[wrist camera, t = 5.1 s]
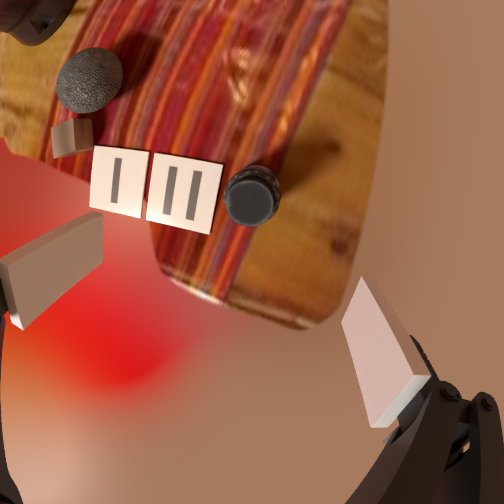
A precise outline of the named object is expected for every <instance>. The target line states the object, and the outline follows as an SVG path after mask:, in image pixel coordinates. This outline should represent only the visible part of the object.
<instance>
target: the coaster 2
mask: <svg viewBox="0 0 504 504" xmlns="http://www.w3.org/2000/svg"><path fill="white" fill-rule="evenodd" d="M222 169H223V165H221V164H216V163H211V162H206V161H201V160H195V159H190V158H184V157H178V156H172V155H166V154H159V153H155V155H154V162H153V168H152V175H151V182H150V189H149V197H148V206H147V215H146V220H150V221H154V222H158V223H163V224H167V225H171V226H175V227H180V228H184V229H188V230H192V231H197V232H201V233H205V234H210V231H211V225H212V220H213V214H214V209H215V204H216V199H217V194H218V189H219V184H220V179H221V174H222Z"/></svg>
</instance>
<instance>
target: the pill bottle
mask: <svg viewBox="0 0 504 504" xmlns="http://www.w3.org/2000/svg"><path fill="white" fill-rule="evenodd" d="M224 202H225V206H226V209H227V212H228V214H229V216H230V217H231V218H232V219H233V220H234V221H235V222H236V223H238V224H240V225H243V226H247V227H251V226H258V225H260V224H262V223H264V222H266V221H268V220H269V219H270V218H271V217H272V216H273V215H274V214H275V213H276V211H277V210H278V207H279V204H280V189H279V183H278V180H277V178H276V176H275V174H274V173H273V172H272V171H271V170H270V169H268V168H266V167H264V166H260V165H251V166H247V167H245V168H244V169H242V170H241V171H240V172H238V173H237V174H236V175H234V176H233V177H232V178H231V179H230V181H229V182H228V183H227V185H226V188H225V192H224Z"/></svg>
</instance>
